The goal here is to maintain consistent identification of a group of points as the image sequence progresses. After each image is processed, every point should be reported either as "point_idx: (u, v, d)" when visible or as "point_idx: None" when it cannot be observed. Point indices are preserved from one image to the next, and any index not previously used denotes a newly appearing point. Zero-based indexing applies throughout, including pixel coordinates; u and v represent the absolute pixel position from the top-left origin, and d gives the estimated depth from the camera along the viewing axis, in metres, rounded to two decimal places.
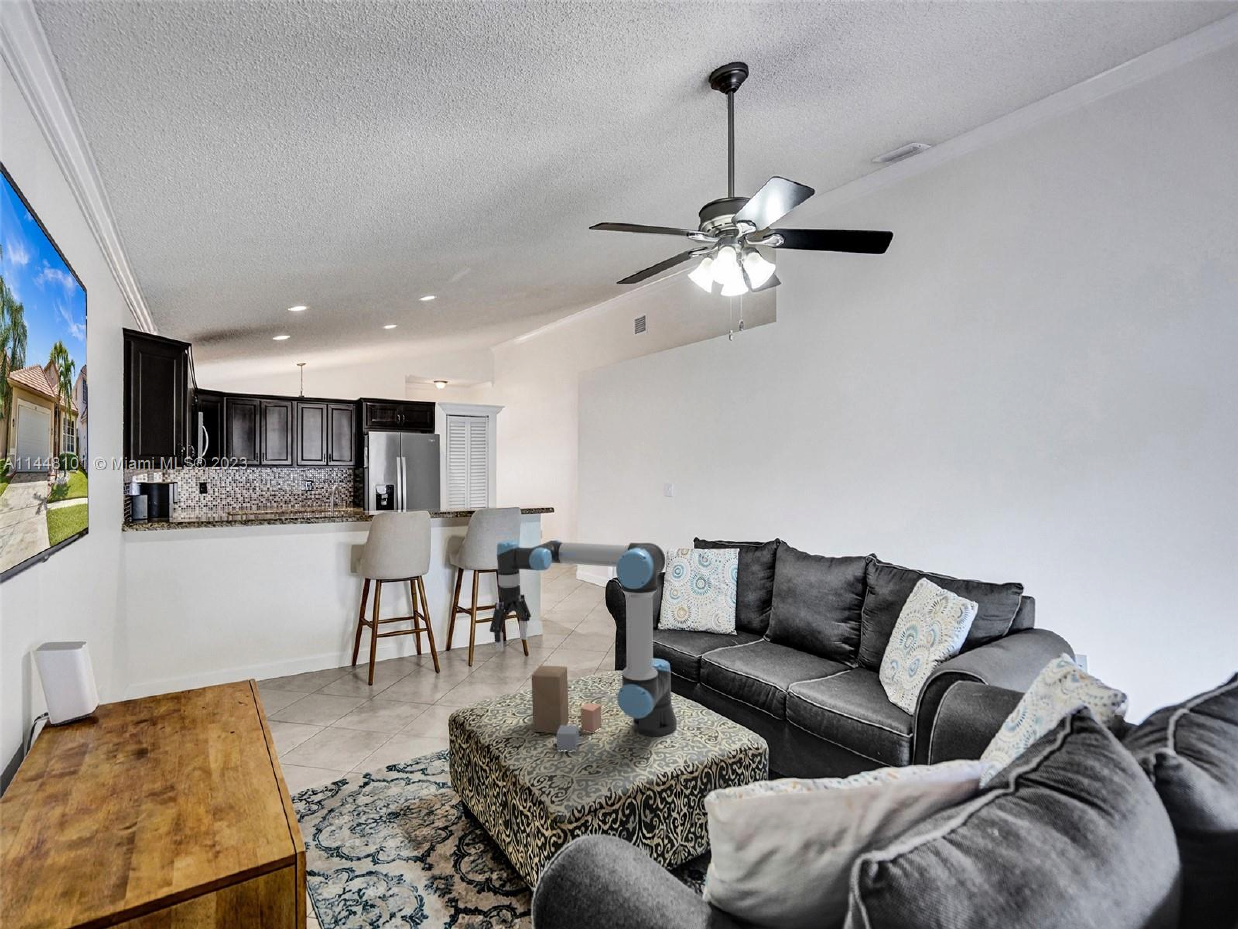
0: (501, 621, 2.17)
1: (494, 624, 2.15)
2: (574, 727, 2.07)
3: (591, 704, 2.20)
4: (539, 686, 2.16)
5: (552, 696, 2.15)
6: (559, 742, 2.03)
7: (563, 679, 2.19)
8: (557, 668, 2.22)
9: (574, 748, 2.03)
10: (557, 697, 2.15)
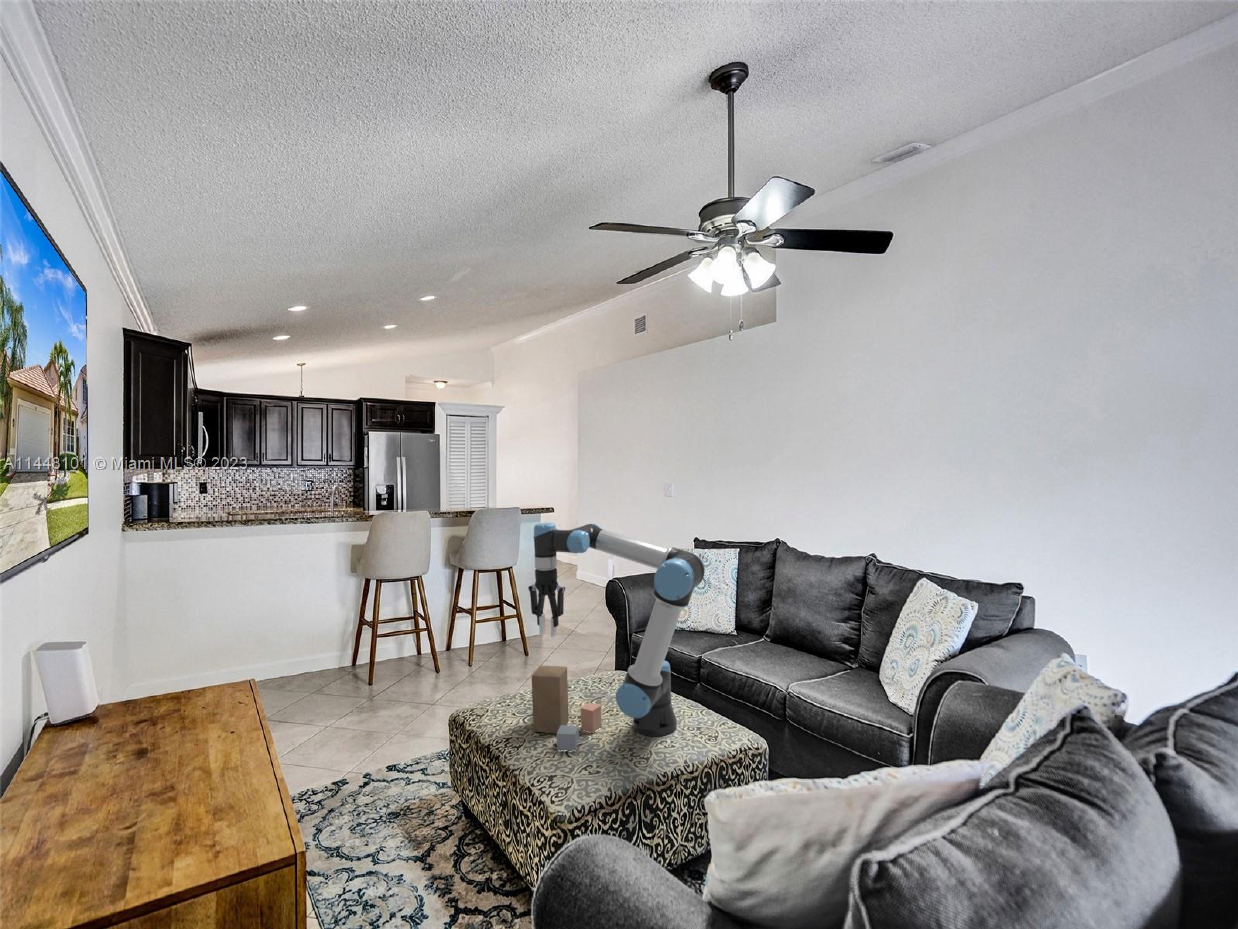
0: None
1: None
2: (574, 727, 2.07)
3: (591, 704, 2.20)
4: (539, 686, 2.16)
5: (552, 696, 2.15)
6: (559, 742, 2.03)
7: (563, 679, 2.19)
8: (557, 668, 2.22)
9: (574, 748, 2.03)
10: (557, 697, 2.15)
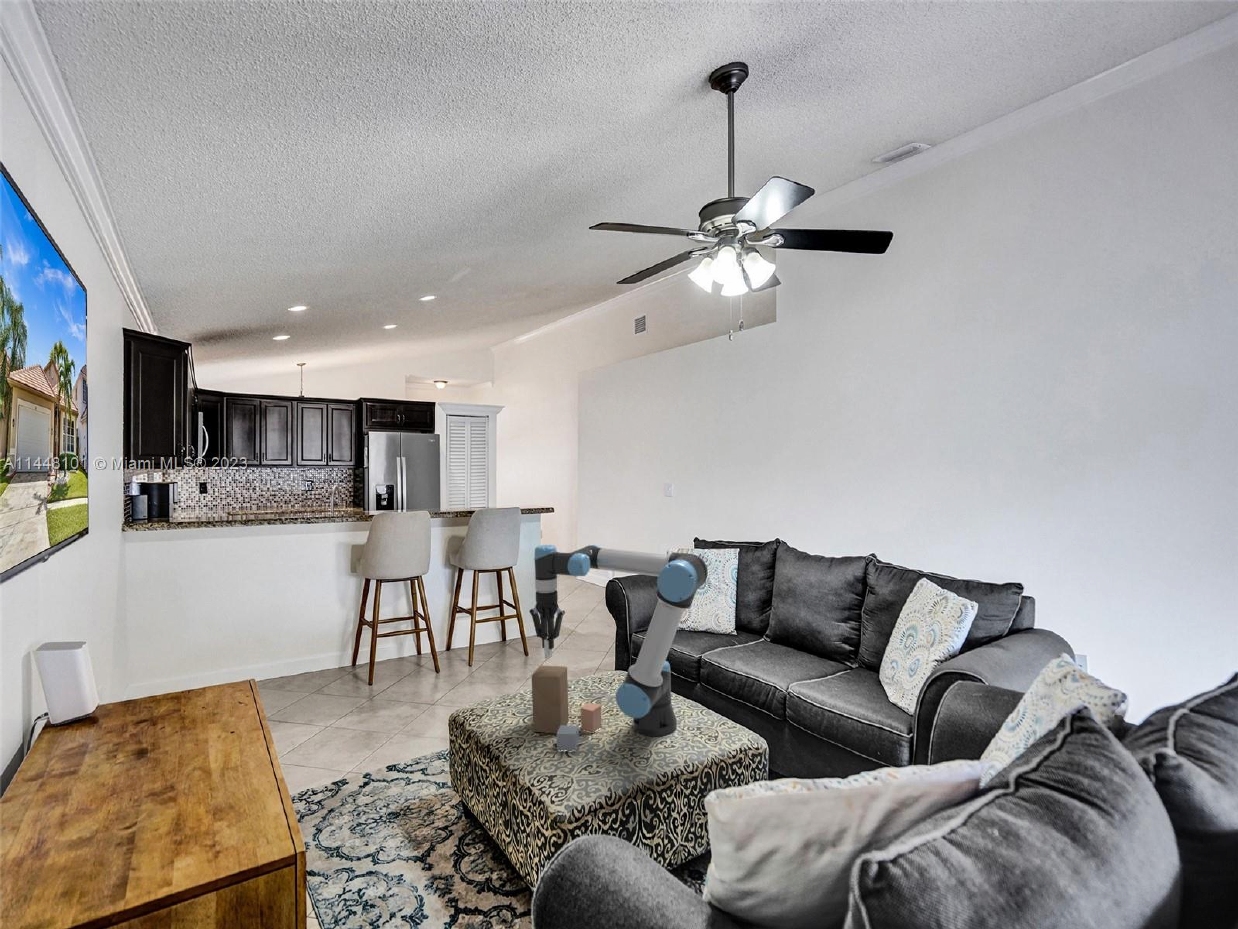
0: None
1: None
2: (574, 727, 2.07)
3: (591, 704, 2.20)
4: (539, 686, 2.16)
5: (552, 696, 2.15)
6: (559, 742, 2.03)
7: (563, 679, 2.19)
8: (557, 668, 2.22)
9: (574, 748, 2.03)
10: (557, 697, 2.15)
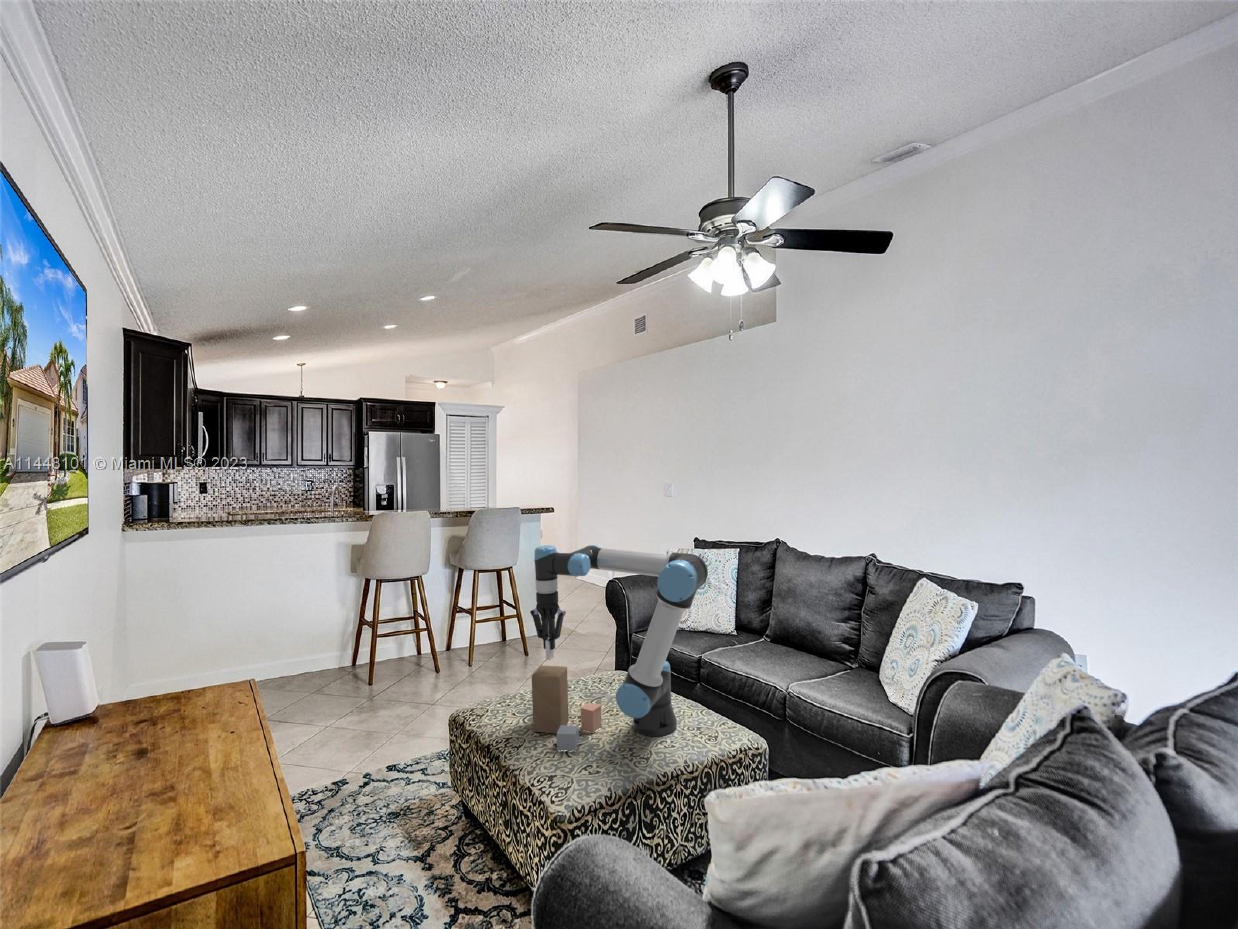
0: None
1: None
2: (574, 727, 2.07)
3: (591, 704, 2.20)
4: (539, 686, 2.16)
5: (552, 696, 2.15)
6: (559, 742, 2.03)
7: (563, 679, 2.19)
8: (557, 668, 2.22)
9: (574, 748, 2.03)
10: (557, 697, 2.15)
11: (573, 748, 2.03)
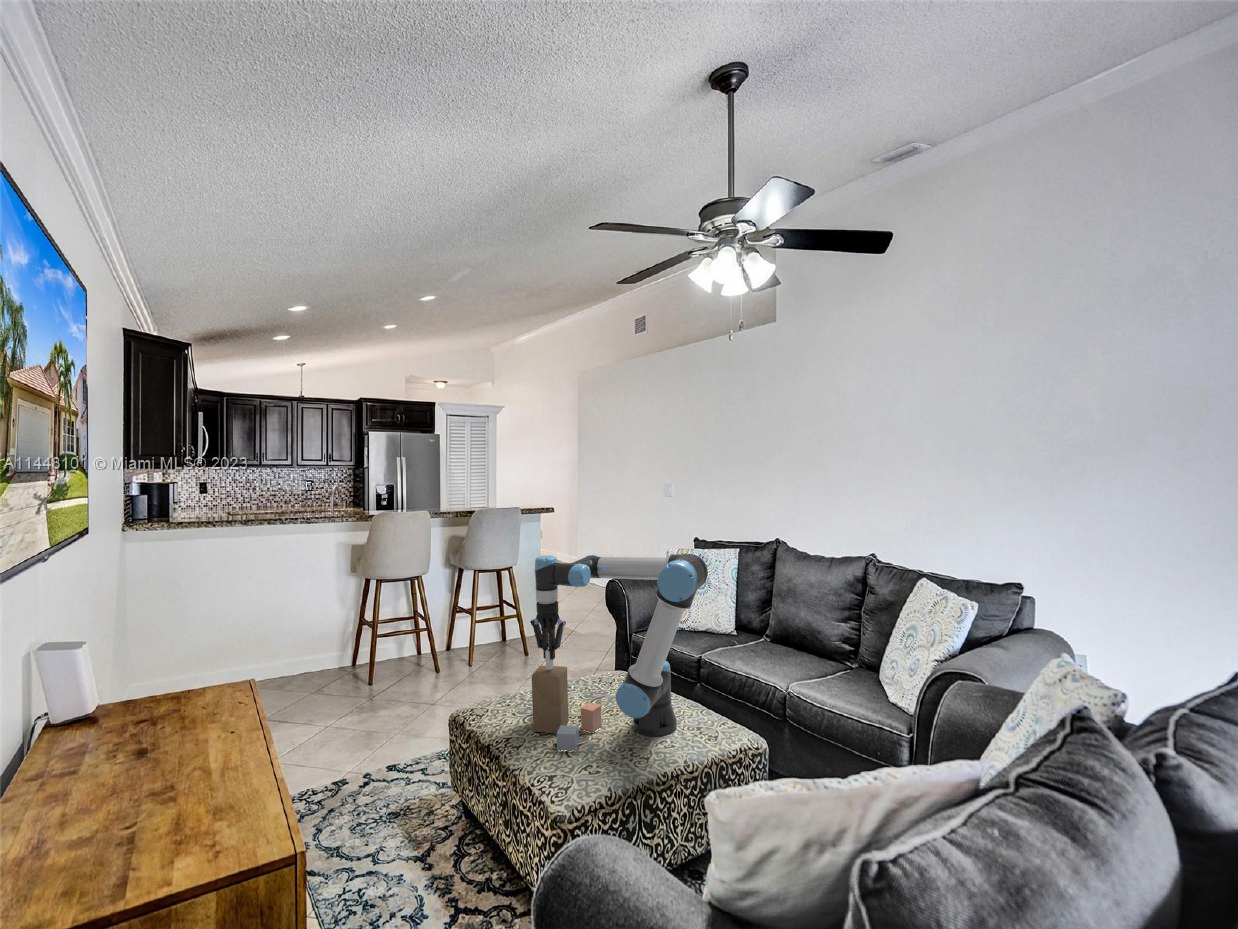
0: None
1: None
2: (574, 727, 2.07)
3: (591, 704, 2.20)
4: (539, 686, 2.16)
5: (552, 696, 2.15)
6: (559, 742, 2.03)
7: (563, 679, 2.19)
8: (557, 668, 2.22)
9: (574, 748, 2.03)
10: (557, 697, 2.15)
11: (573, 748, 2.03)
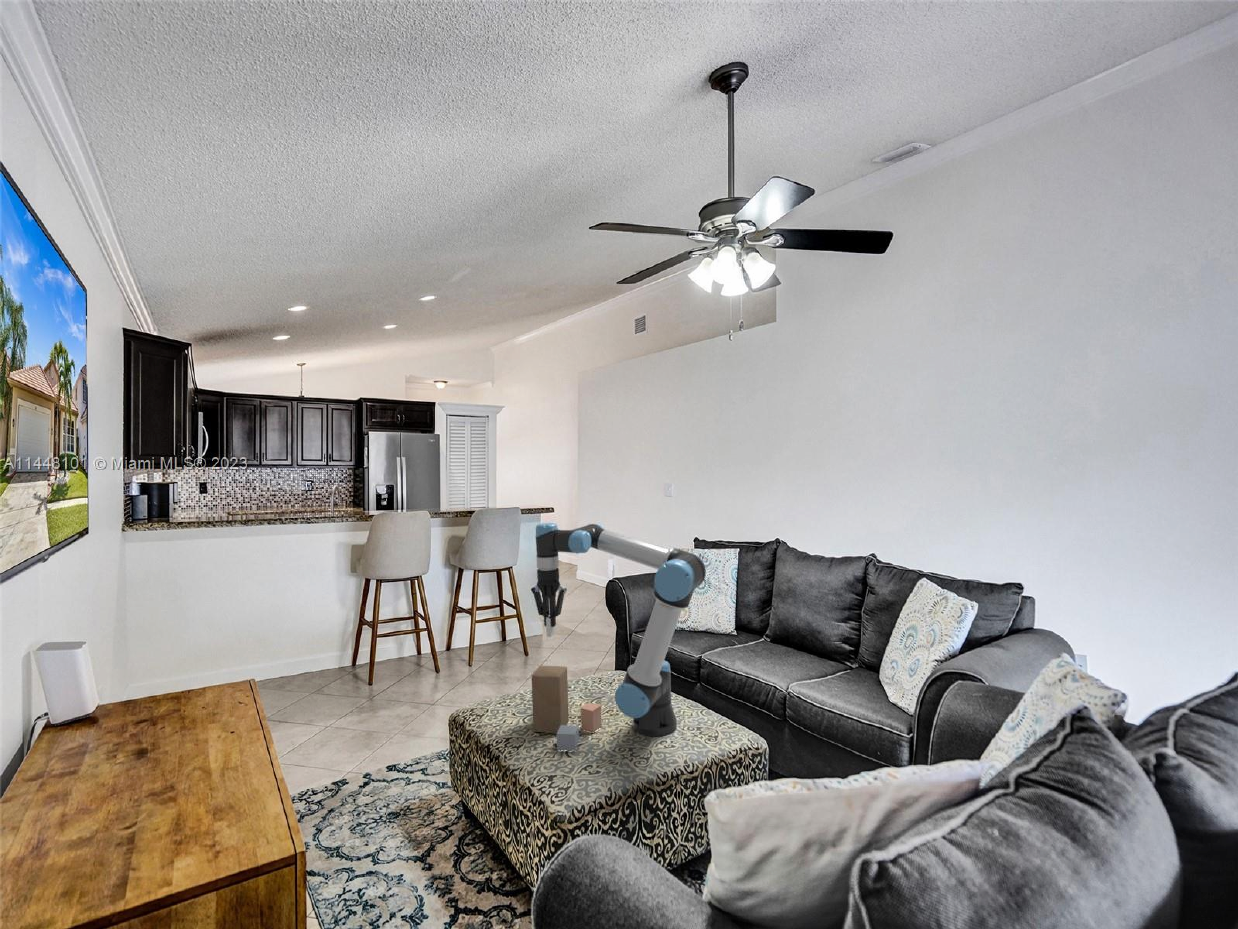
0: None
1: None
2: (574, 727, 2.07)
3: (591, 704, 2.20)
4: (539, 686, 2.16)
5: (552, 696, 2.15)
6: (559, 742, 2.03)
7: (563, 679, 2.19)
8: (557, 668, 2.22)
9: (574, 748, 2.03)
10: (557, 697, 2.15)
11: (573, 748, 2.03)
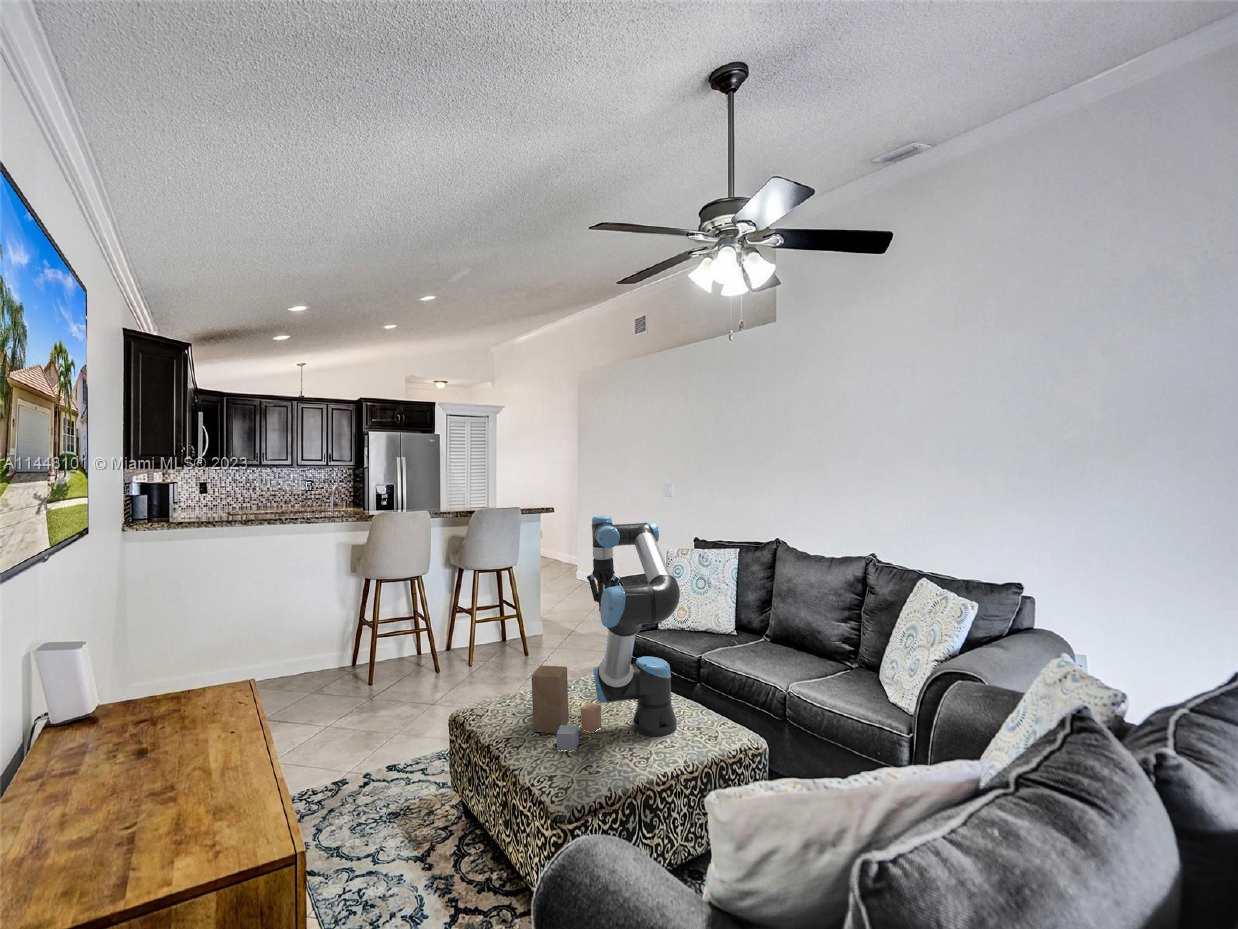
0: None
1: None
2: (574, 727, 2.07)
3: (591, 704, 2.20)
4: (539, 686, 2.16)
5: (552, 696, 2.15)
6: (559, 742, 2.03)
7: (563, 679, 2.19)
8: (557, 668, 2.22)
9: (574, 748, 2.03)
10: (557, 697, 2.15)
11: (573, 748, 2.03)
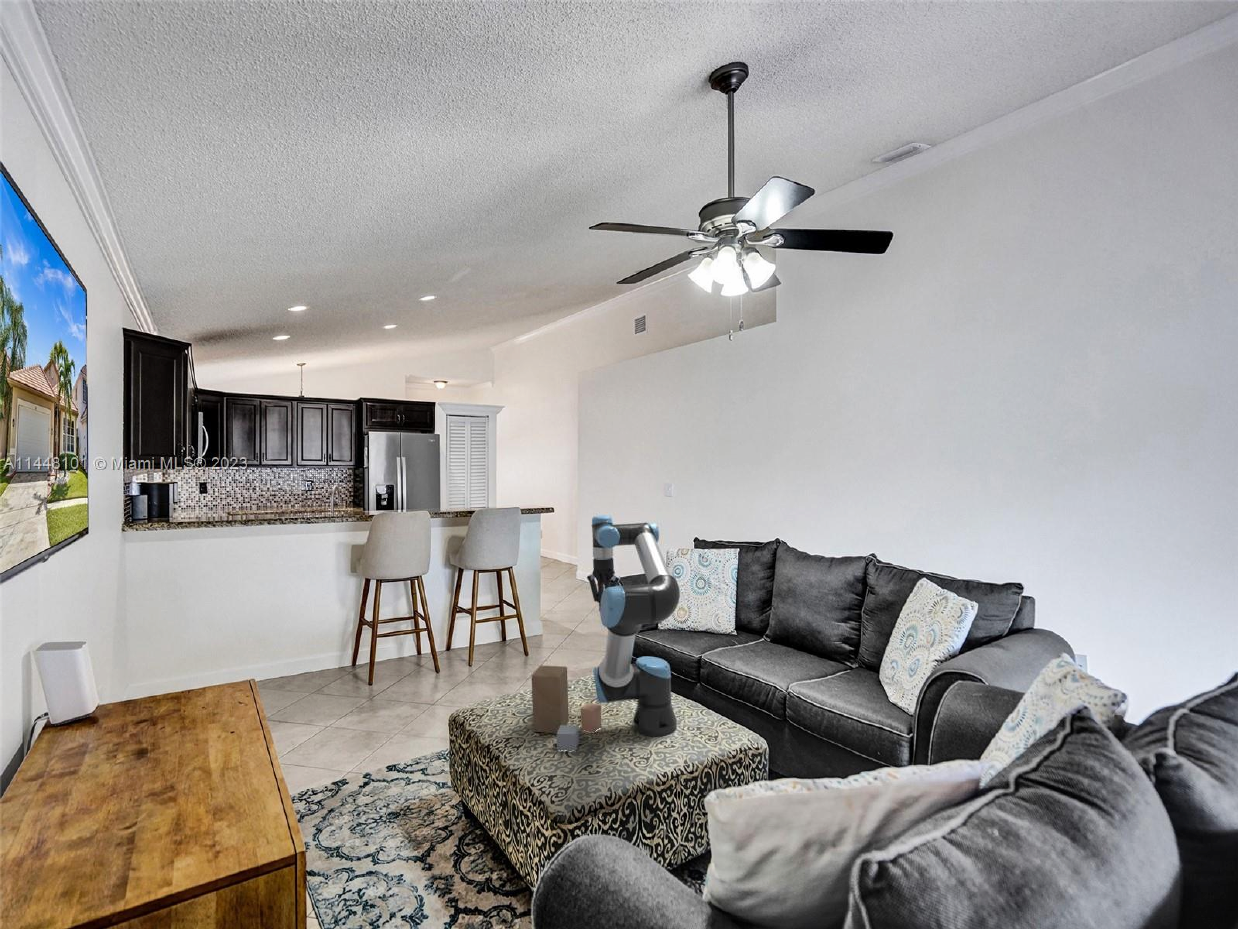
0: None
1: None
2: (574, 727, 2.07)
3: (591, 704, 2.20)
4: (539, 686, 2.16)
5: (552, 696, 2.15)
6: (559, 742, 2.03)
7: (563, 679, 2.19)
8: (557, 668, 2.22)
9: (574, 748, 2.03)
10: (557, 697, 2.15)
11: (573, 748, 2.03)
